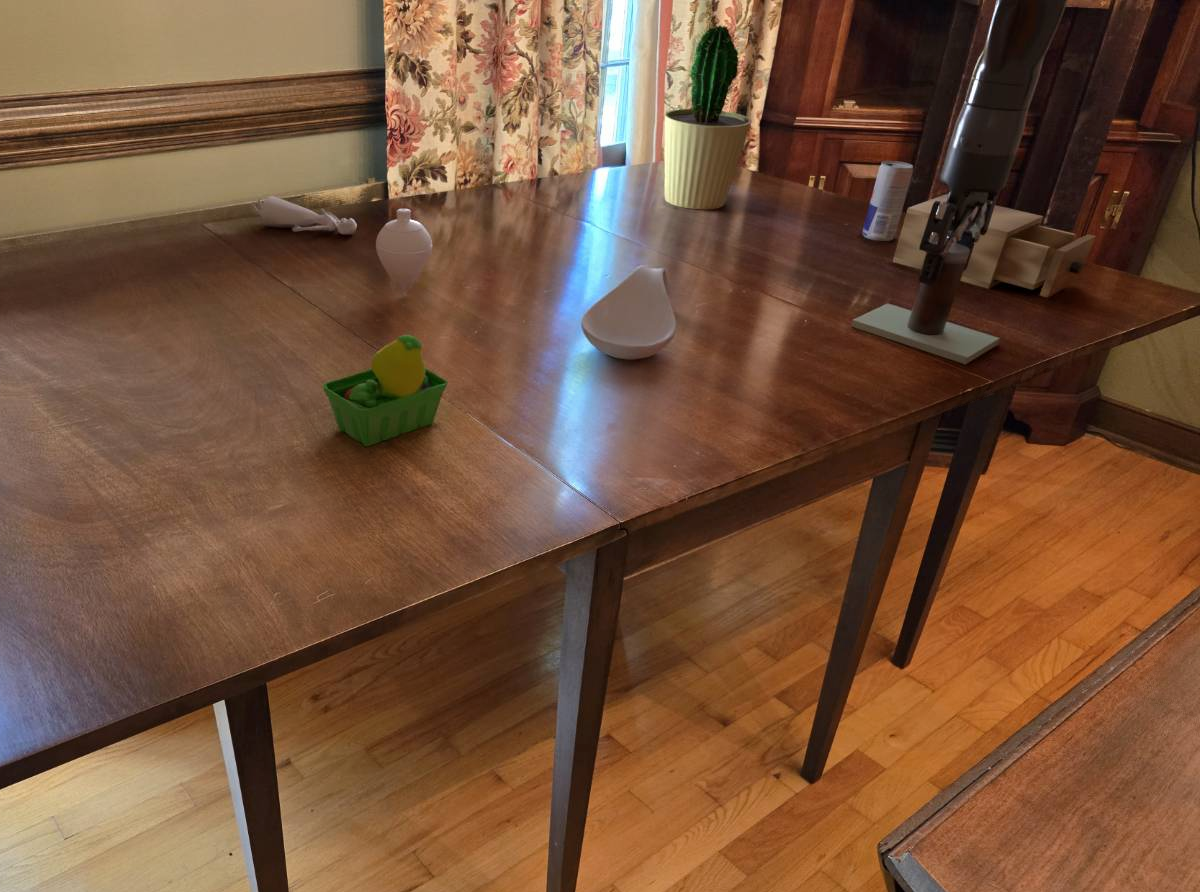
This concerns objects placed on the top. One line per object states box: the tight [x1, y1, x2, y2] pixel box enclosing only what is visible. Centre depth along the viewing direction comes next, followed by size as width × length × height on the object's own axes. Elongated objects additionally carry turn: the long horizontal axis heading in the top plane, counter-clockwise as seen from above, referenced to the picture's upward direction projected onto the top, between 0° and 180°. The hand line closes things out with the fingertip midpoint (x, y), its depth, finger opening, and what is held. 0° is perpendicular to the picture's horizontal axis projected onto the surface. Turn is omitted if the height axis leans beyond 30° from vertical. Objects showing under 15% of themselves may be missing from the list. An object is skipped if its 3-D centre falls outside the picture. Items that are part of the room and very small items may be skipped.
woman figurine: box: [250, 195, 358, 236], centre depth 157 cm, size 12×4×18 cm
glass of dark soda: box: [907, 242, 970, 335], centre depth 126 cm, size 5×5×11 cm
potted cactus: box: [664, 22, 753, 210], centre depth 172 cm, size 15×15×30 cm
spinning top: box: [375, 208, 433, 298], centre depth 131 cm, size 8×8×12 cm
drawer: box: [994, 224, 1097, 299], centre depth 146 cm, size 16×12×7 cm
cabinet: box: [892, 193, 1044, 290], centre depth 152 cm, size 16×14×9 cm
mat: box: [850, 303, 1000, 365], centre depth 129 cm, size 16×10×1 cm, turn 43°
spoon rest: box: [580, 264, 677, 361], centre depth 124 cm, size 24×12×7 cm, turn 162°
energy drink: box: [862, 160, 914, 242], centre depth 163 cm, size 5×5×12 cm
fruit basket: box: [322, 334, 448, 448], centre depth 99 cm, size 11×9×11 cm
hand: (942, 276), depth 125 cm, fingers open, 8 cm apart
